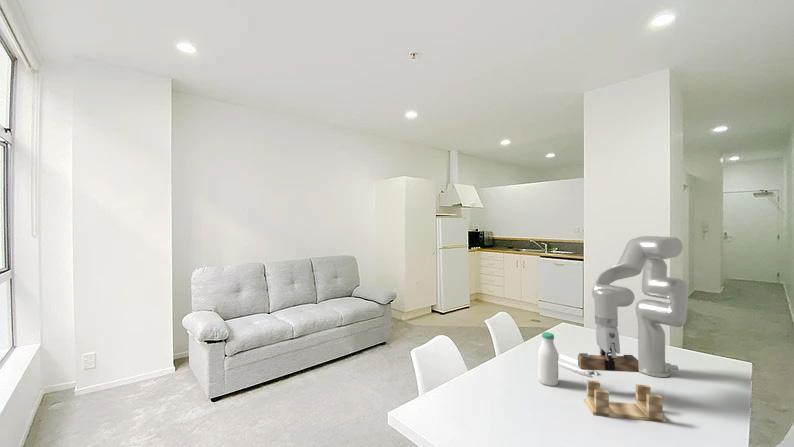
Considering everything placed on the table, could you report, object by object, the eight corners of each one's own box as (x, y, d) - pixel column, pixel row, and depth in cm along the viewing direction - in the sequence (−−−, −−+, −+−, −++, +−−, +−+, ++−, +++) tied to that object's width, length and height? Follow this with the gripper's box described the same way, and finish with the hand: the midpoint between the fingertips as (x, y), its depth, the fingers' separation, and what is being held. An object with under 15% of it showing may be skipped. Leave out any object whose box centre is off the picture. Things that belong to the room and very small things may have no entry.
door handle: (553, 354, 166) (601, 374, 143) (539, 357, 162) (586, 379, 139) (553, 349, 166) (601, 368, 144) (539, 352, 162) (586, 372, 140)
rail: (633, 368, 128) (633, 355, 128) (638, 372, 125) (638, 358, 125) (578, 365, 132) (577, 353, 132) (581, 369, 129) (580, 356, 129)
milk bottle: (557, 388, 131) (557, 338, 131) (536, 383, 135) (536, 334, 135) (559, 380, 137) (559, 332, 137) (539, 376, 141) (539, 329, 142)
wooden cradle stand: (651, 408, 117) (651, 385, 117) (666, 422, 108) (666, 398, 108) (583, 401, 121) (583, 379, 121) (592, 414, 112) (592, 391, 113)
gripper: (627, 328, 119) (628, 378, 120) (607, 314, 136) (608, 359, 136) (604, 327, 121) (606, 377, 121) (587, 314, 137) (588, 358, 137)
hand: (607, 367), depth 128 cm, fingers closed on rail, 3 cm apart
